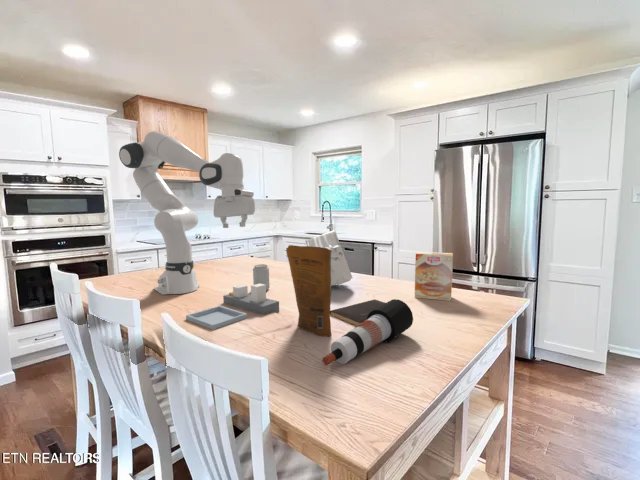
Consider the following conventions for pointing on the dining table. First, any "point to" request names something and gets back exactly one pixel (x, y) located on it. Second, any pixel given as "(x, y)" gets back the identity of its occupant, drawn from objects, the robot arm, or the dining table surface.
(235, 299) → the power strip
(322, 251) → the pancake mix bag
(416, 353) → the dining table surface
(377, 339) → the cable
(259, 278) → the can
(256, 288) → the grey rectangular block
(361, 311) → the hardcover book
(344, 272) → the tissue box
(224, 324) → the tray
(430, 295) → the coffeecake box
